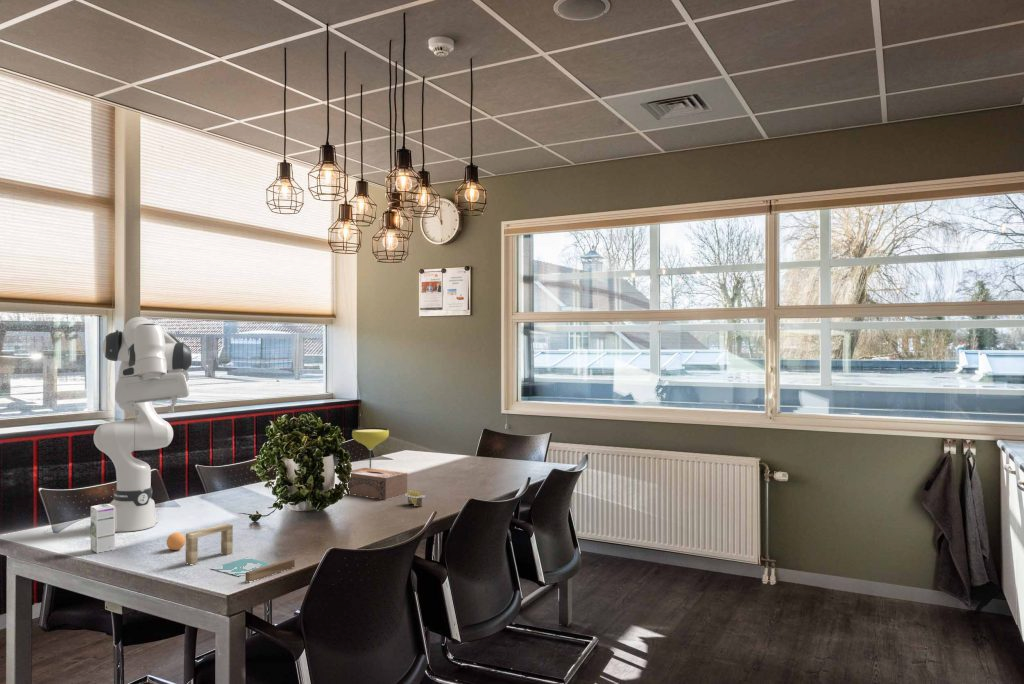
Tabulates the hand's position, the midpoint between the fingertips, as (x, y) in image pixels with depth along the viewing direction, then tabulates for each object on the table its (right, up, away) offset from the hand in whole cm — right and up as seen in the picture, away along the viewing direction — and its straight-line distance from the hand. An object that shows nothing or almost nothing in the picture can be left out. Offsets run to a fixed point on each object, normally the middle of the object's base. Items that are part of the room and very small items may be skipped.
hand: (154, 414), depth 214 cm
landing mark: (+27, -46, -1) cm, 54 cm away
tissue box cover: (+47, -48, +105) cm, 125 cm away
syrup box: (-25, -46, +15) cm, 54 cm away
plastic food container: (+67, -48, +82) cm, 117 cm away
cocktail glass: (+38, -47, +139) cm, 152 cm away
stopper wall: (+38, -46, -8) cm, 60 cm away
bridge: (+14, -46, +7) cm, 49 cm away
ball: (-1, -43, +16) cm, 46 cm away
